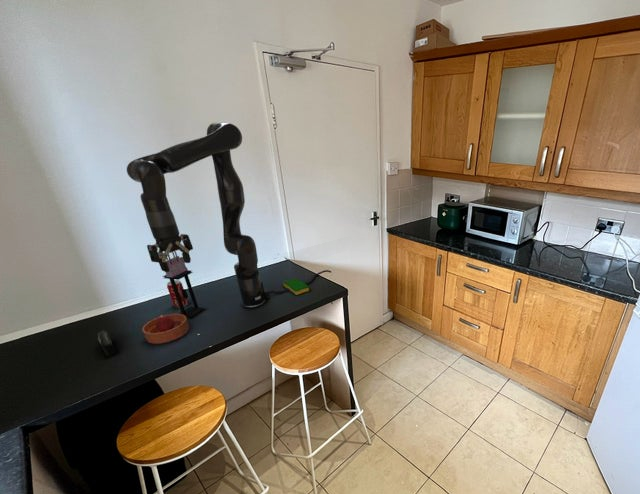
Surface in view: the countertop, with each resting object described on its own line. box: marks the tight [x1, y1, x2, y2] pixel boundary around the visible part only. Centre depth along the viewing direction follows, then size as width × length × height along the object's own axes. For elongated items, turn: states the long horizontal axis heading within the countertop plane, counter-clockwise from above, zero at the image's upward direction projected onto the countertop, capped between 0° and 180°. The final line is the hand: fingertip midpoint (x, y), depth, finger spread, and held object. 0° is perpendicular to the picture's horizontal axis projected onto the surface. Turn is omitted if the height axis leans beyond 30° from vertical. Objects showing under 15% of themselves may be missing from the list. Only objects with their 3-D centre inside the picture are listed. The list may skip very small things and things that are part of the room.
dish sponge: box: [282, 277, 310, 296], centre depth 159 cm, size 7×14×2 cm, turn 44°
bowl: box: [141, 313, 190, 345], centre depth 123 cm, size 14×14×5 cm
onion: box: [156, 314, 175, 332], centre depth 122 cm, size 6×6×8 cm
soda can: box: [166, 279, 189, 309], centre depth 141 cm, size 6×6×12 cm
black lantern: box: [162, 251, 206, 319], centre depth 131 cm, size 10×8×30 cm
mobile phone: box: [97, 330, 117, 356], centre depth 115 cm, size 5×3×15 cm
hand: (177, 266), depth 113 cm, fingers open, 8 cm apart
